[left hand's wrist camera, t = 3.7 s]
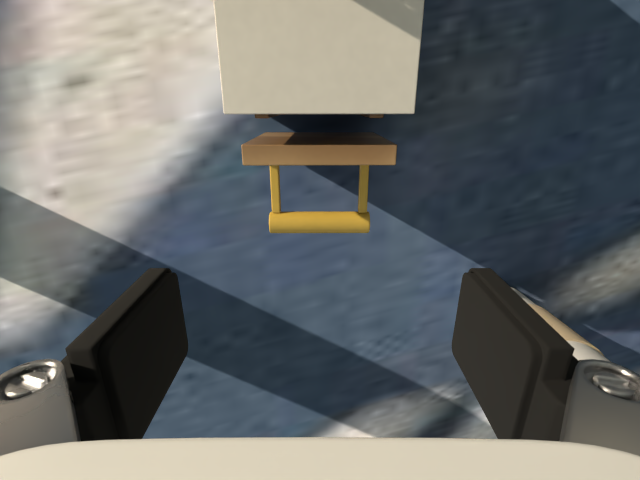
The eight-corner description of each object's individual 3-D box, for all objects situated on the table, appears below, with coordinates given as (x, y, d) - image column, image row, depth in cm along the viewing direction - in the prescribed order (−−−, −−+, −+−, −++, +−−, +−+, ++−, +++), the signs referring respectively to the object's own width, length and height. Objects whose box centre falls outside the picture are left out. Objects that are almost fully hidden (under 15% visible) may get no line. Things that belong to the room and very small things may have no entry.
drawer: (369, 210, 32) (389, 251, 23) (269, 210, 32) (249, 252, 23) (385, -100, 24) (424, -222, 15) (252, -100, 24) (212, -222, 15)
